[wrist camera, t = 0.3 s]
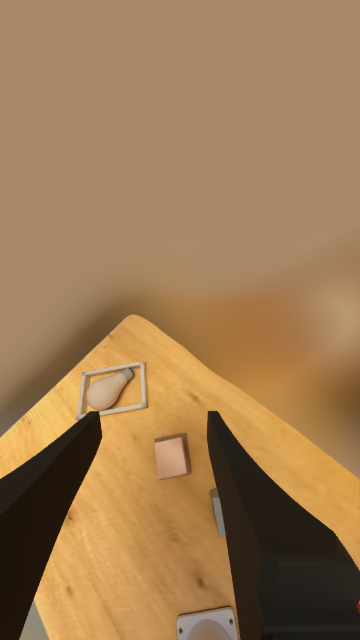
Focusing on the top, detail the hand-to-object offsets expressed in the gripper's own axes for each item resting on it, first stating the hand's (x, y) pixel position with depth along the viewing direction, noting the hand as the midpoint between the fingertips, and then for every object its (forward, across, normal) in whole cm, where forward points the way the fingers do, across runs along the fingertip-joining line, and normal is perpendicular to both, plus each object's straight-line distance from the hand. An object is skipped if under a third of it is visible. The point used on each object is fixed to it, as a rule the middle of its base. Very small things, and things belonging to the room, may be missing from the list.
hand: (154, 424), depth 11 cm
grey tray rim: (+27, +14, +16) cm, 34 cm away
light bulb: (+27, +13, +16) cm, 34 cm away
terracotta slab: (+16, 0, +22) cm, 27 cm away
